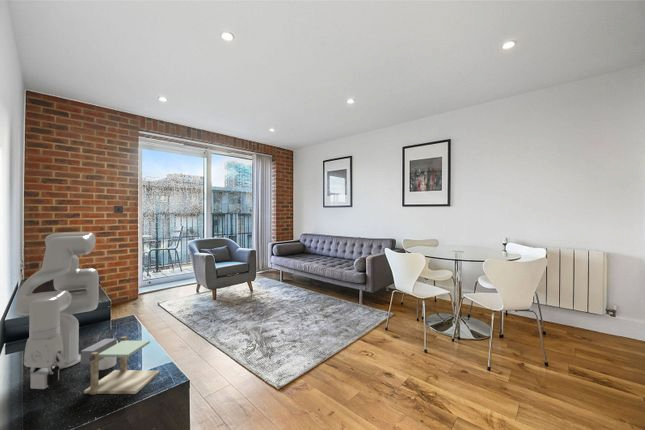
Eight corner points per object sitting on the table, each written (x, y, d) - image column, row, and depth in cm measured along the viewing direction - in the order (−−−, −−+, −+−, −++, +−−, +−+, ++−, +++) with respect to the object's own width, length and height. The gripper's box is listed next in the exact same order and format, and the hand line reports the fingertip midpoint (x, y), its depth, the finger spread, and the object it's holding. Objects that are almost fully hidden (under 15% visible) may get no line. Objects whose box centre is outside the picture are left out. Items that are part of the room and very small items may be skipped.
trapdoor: (79, 364, 102) (79, 351, 102) (106, 349, 114) (106, 338, 114) (128, 365, 101) (128, 351, 101) (149, 350, 113) (150, 338, 113)
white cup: (121, 363, 122) (122, 341, 123) (102, 372, 115) (103, 348, 115) (110, 360, 125) (110, 338, 125) (90, 369, 118) (91, 346, 118)
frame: (80, 395, 99) (81, 354, 100) (117, 370, 116) (117, 335, 116) (132, 396, 98) (132, 355, 99) (162, 371, 115) (162, 335, 116)
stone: (30, 388, 93) (30, 374, 93) (45, 379, 98) (45, 365, 98) (44, 389, 93) (44, 374, 93) (59, 379, 98) (58, 366, 98)
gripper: (9, 336, 92) (9, 388, 92) (56, 338, 91) (56, 391, 91) (34, 327, 99) (34, 375, 99) (78, 328, 98) (78, 377, 99)
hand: (45, 382), depth 95 cm, fingers closed on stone, 5 cm apart
